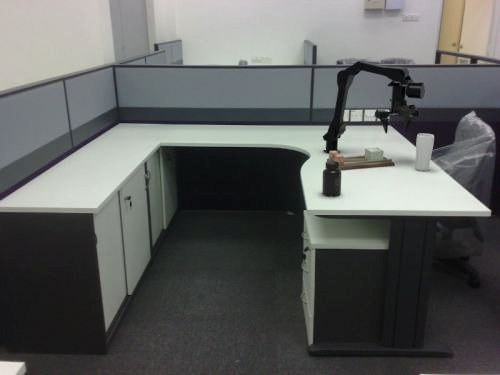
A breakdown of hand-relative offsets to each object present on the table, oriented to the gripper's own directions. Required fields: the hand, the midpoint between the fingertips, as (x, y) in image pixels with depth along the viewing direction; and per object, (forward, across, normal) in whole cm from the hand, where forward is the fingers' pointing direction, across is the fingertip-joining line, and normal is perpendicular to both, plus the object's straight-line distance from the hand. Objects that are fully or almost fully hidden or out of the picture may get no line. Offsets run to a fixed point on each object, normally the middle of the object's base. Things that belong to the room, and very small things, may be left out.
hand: (395, 132), depth 207 cm
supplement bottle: (+13, -42, -33) cm, 55 cm away
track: (+13, -16, 0) cm, 21 cm away
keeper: (+12, -9, 0) cm, 15 cm away
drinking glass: (+14, +6, -15) cm, 21 cm away
